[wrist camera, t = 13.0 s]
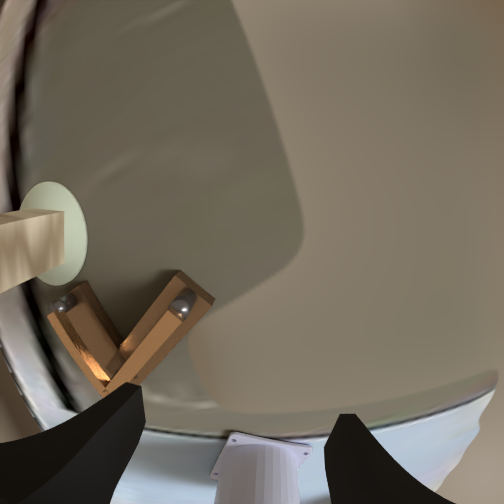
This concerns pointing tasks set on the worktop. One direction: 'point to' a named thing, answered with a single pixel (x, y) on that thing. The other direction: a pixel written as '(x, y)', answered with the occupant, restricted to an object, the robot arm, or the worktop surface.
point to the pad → (74, 228)
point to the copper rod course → (139, 340)
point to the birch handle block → (29, 244)
